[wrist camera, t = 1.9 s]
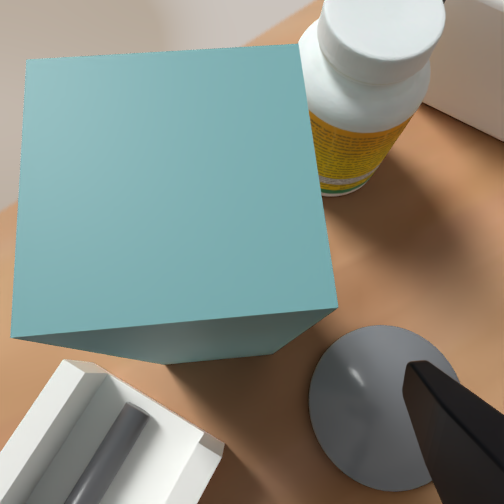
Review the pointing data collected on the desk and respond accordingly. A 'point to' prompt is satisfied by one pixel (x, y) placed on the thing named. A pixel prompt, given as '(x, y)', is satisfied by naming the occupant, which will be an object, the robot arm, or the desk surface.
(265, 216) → the teal box
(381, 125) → the supplement bottle
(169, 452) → the white channel beam
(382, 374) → the coaster
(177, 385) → the desk surface
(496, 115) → the medicine bottle
